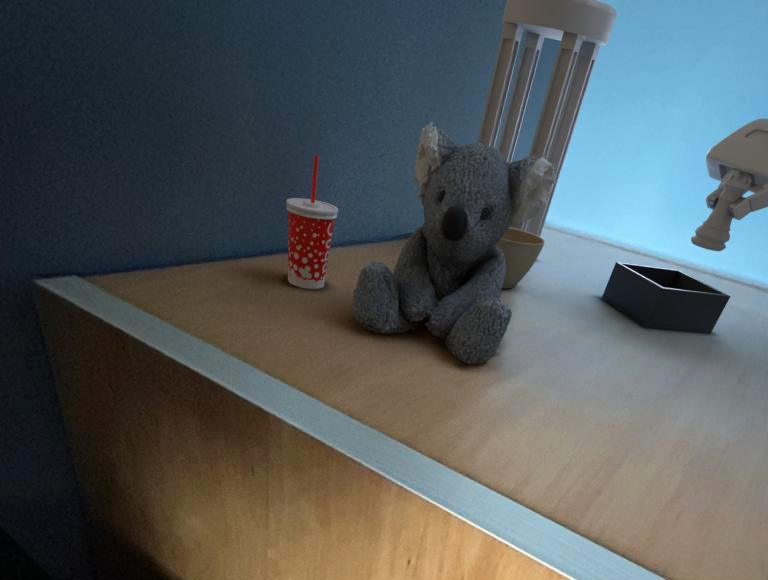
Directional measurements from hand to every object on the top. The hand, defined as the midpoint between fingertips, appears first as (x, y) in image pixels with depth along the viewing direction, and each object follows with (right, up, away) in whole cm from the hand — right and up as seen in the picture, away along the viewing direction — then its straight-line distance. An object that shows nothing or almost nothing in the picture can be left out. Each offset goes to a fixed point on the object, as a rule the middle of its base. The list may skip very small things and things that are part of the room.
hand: (721, 209), depth 71 cm
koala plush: (-36, -16, -3) cm, 39 cm away
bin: (0, -7, +18) cm, 19 cm away
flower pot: (-25, -2, +17) cm, 30 cm away
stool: (-22, +9, +32) cm, 40 cm away
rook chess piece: (0, -3, +3) cm, 5 cm away
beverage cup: (-52, -9, +1) cm, 53 cm away
